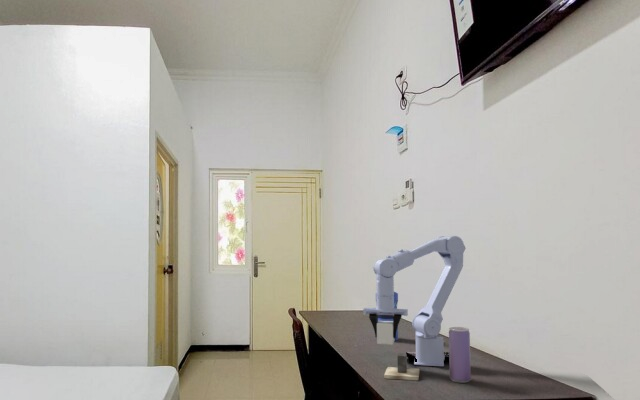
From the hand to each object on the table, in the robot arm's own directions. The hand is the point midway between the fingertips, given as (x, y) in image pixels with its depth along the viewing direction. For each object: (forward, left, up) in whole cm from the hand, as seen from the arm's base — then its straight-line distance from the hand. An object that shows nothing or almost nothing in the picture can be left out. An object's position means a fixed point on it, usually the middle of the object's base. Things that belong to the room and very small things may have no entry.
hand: (385, 337), depth 164 cm
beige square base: (-6, +10, -9) cm, 15 cm away
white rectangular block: (0, 0, -2) cm, 2 cm away
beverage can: (-23, +12, -10) cm, 28 cm away
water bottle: (+4, -46, -10) cm, 47 cm away
